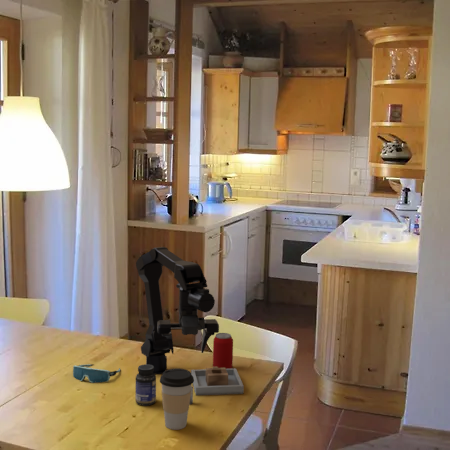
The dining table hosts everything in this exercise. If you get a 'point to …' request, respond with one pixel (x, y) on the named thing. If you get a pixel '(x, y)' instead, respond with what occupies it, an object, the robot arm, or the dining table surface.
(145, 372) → the pill bottle
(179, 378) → the coffee cup
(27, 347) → the dining table surface
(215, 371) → the wooden frame block
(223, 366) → the beverage can
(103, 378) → the sunglasses
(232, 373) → the tray
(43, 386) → the dining table surface
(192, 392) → the metal cylinder
